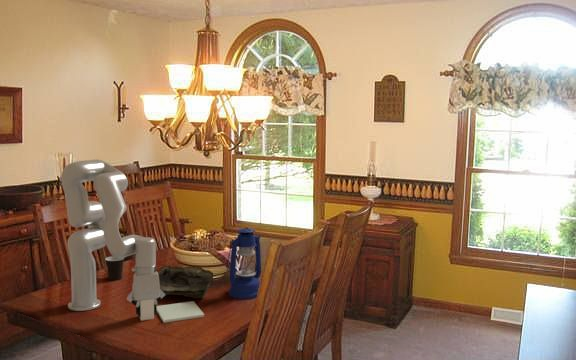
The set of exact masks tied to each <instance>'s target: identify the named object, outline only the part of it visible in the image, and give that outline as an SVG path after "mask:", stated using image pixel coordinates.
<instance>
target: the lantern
mask: <svg viewBox="0 0 576 360" xmlns="http://www.w3.org/2000/svg"><path fill="white" fill-rule="evenodd" d="M236 231H237V232H238V235H237V238H235V239H234V240H233V239H232V240H231V242H230V249H229V252H228V258H227V263H226V266H228V265H229V260H230V265H229V267H230V268H229V267H226V269H227V270H226V271H227V272H228V273H229V282H230V288H229V289H228V295H229V297H231V298H234V299H238V300H239V299H240V300H251V299H256V297H257V293H258V288H259V284H260V285H261V281H260V279H259V278H261V275H262V262H261V261H262V260H261V257H262V256H261V243H260V239H261V235H255V234H254V233H255V232H256V230H255V229H253V228H250V227H244V228H239V229H237V230H236ZM237 249H238V250H237ZM250 256H251V258H250ZM254 256H255V263H254V266H253V267H252V268H251V269H248V267H249V265H250V264H251V262H252V261H253V257H254ZM239 257H246V258H247V257H248V259H249V260H250V261H247V262H245V264H247V263H248V264H247V266H246V267H244V268H241V269H239V270H238V269H237V268H238V266H237V267H236V261H237V258H239ZM228 268H229V269H228ZM253 269H254V270H253ZM257 298H258V297H257Z"/></svg>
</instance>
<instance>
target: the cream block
mask: <svg viewBox="0 0 576 360" xmlns="http://www.w3.org/2000/svg"><path fill="white" fill-rule="evenodd" d="M138 318H139V319H140V321H141V322H142V321H148V320H154V319H155V315H154V299H148V300H140V317H138Z"/></svg>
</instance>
